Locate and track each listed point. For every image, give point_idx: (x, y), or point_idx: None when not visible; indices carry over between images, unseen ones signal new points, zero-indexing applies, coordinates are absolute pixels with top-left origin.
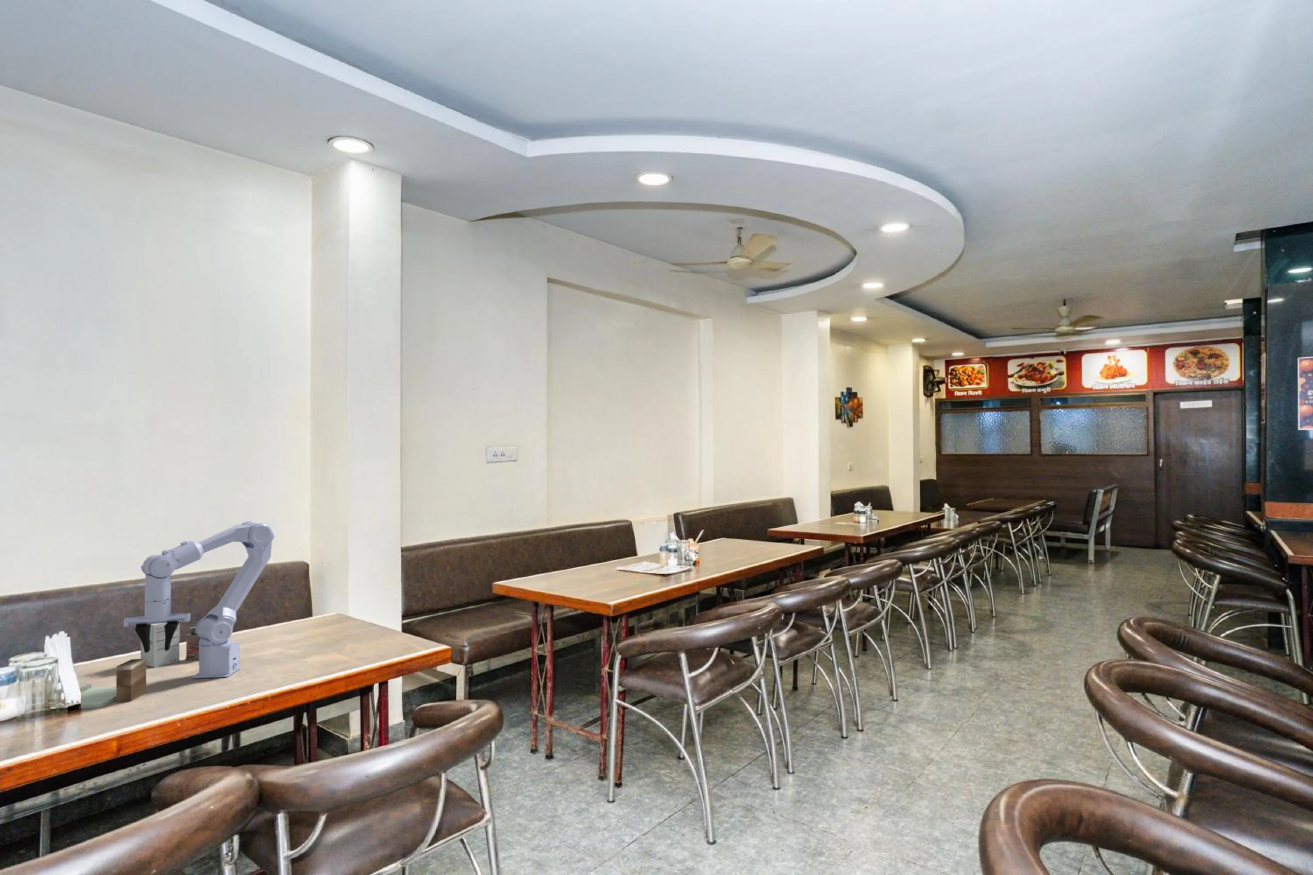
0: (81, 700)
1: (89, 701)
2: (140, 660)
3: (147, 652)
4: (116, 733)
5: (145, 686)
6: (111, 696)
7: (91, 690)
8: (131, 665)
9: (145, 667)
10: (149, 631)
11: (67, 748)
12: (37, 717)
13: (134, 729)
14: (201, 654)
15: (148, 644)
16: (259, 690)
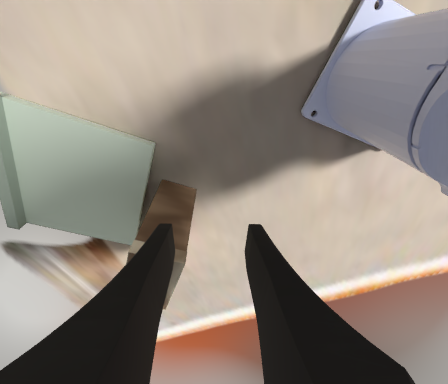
0: (69, 210)
1: (95, 222)
2: (172, 275)
3: (174, 250)
4: (207, 324)
5: (194, 201)
6: (129, 208)
7: (28, 131)
8: (165, 306)
9: (187, 239)
10: (132, 335)
11: (169, 337)
12: (38, 247)
13: (224, 321)
14: (377, 139)
15: (164, 266)
16: (397, 261)
